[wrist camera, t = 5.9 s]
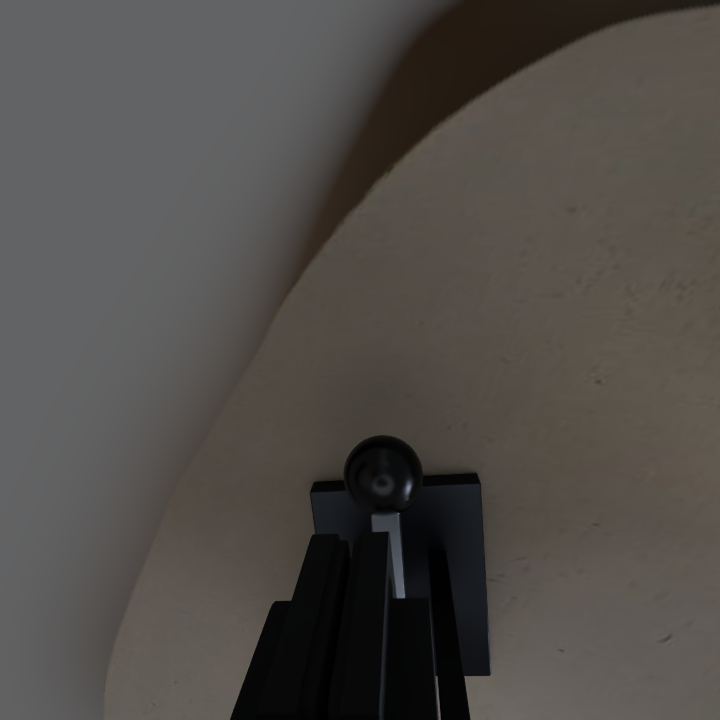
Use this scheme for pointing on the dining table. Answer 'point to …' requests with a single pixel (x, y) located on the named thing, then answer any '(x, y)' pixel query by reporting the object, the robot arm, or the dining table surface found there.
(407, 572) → the switch bracket
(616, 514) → the dining table surface
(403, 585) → the switch lever
